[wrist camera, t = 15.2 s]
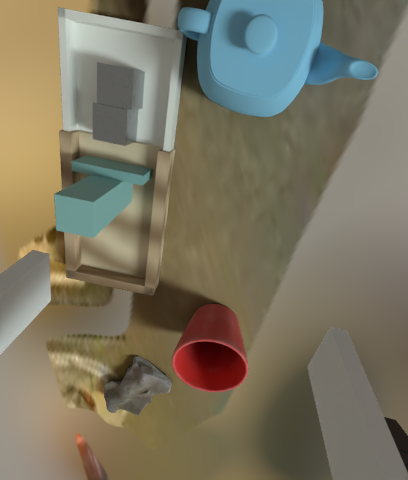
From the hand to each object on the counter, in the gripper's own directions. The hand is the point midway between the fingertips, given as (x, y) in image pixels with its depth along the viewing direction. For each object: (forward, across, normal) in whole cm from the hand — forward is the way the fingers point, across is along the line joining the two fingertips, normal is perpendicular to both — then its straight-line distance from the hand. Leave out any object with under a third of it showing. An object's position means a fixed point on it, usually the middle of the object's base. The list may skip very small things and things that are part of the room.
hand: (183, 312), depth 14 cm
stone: (+28, -6, -46) cm, 54 cm away
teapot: (+29, +1, +14) cm, 32 cm away
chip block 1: (+28, -14, +7) cm, 32 cm away
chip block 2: (+28, -14, +3) cm, 32 cm away
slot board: (+28, -13, -10) cm, 33 cm away
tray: (+28, -14, +7) cm, 33 cm away
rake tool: (+27, -14, -5) cm, 31 cm away
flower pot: (+28, +5, -25) cm, 38 cm away
